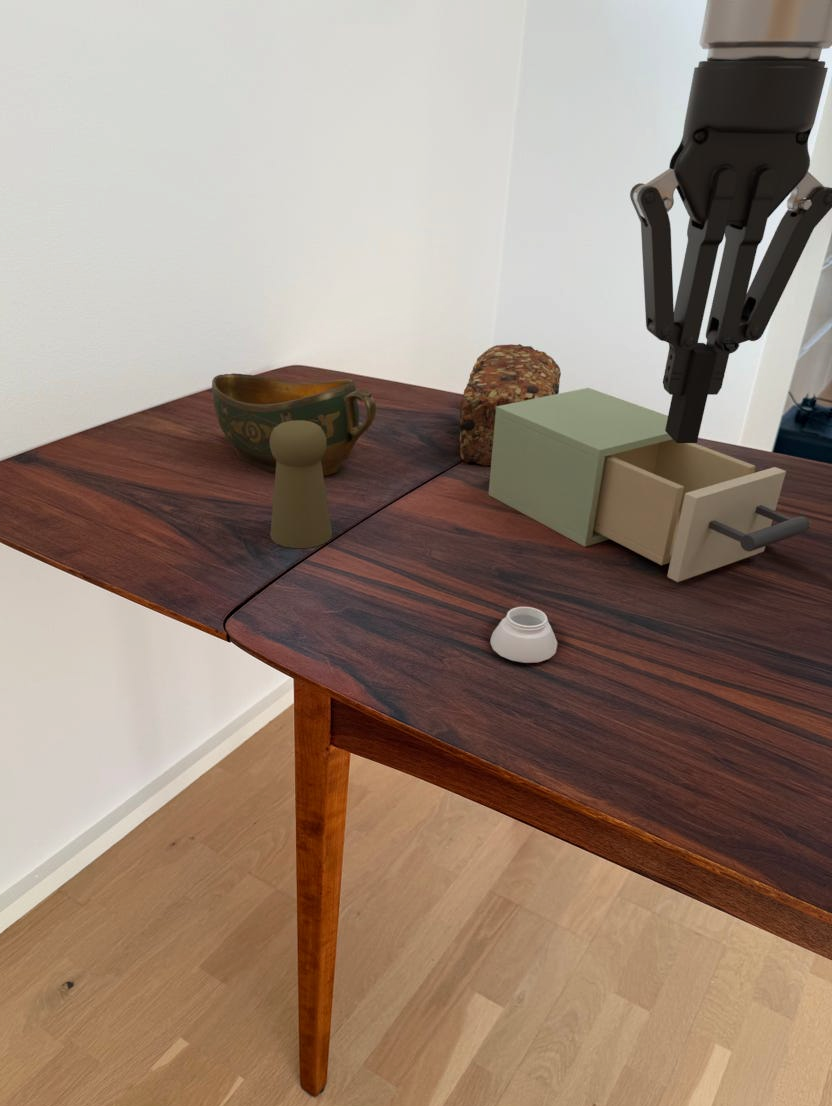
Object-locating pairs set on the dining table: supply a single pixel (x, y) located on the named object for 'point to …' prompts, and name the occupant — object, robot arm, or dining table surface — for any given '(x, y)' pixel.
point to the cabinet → (565, 455)
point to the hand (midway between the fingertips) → (680, 436)
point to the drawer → (691, 507)
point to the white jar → (524, 636)
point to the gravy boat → (289, 415)
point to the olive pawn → (299, 486)
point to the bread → (501, 393)
